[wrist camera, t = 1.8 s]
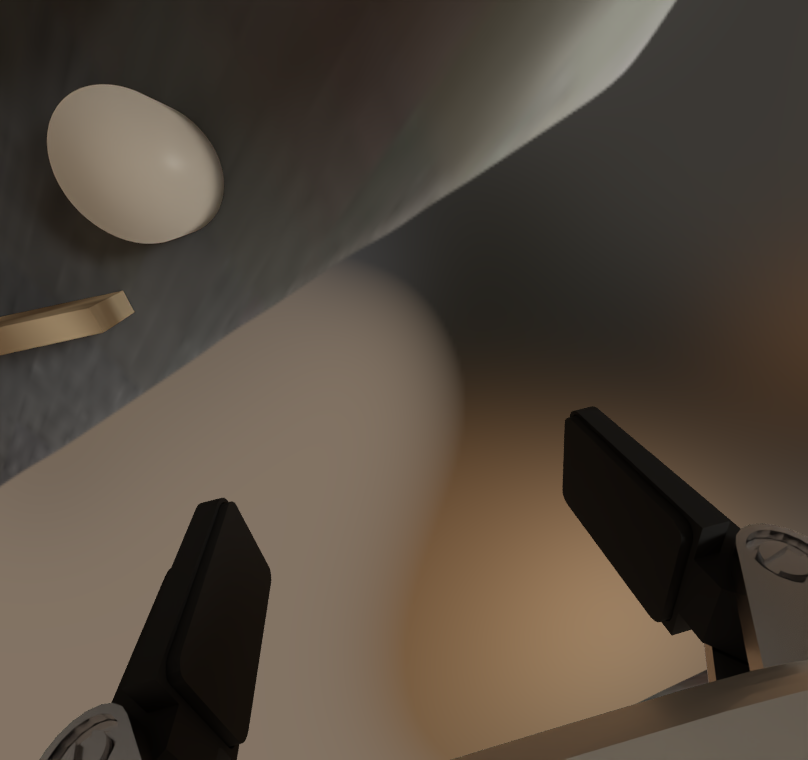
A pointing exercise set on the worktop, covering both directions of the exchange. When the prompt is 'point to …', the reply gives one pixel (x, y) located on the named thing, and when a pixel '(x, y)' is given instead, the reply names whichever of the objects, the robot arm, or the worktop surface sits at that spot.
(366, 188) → the worktop surface
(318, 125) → the worktop surface
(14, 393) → the worktop surface
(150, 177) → the cream egg shape
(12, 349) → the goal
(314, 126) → the worktop surface
